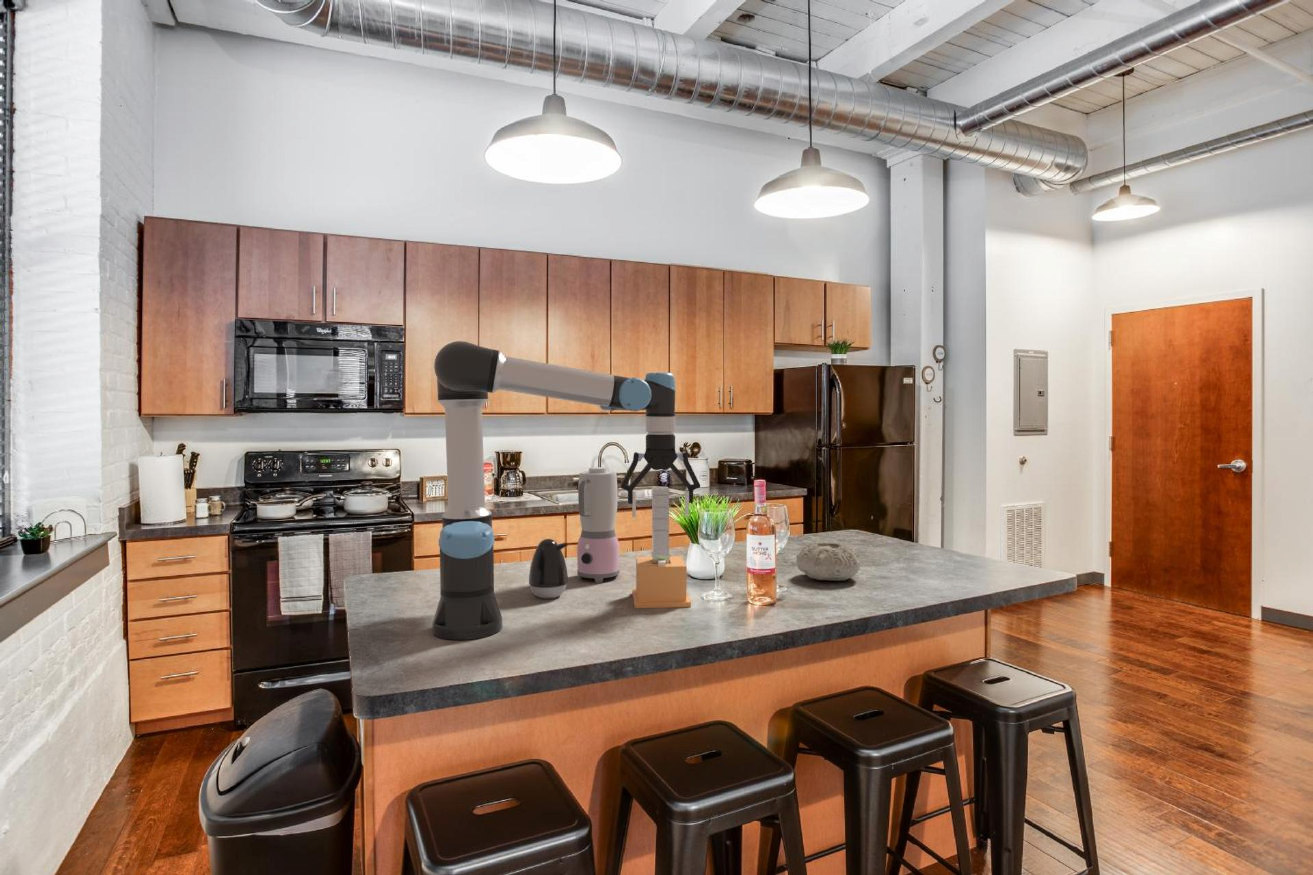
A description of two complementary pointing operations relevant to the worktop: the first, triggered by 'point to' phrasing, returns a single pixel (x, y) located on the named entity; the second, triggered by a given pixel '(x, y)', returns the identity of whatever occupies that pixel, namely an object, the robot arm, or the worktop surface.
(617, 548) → the blender
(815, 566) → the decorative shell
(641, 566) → the housing
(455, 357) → the robot arm
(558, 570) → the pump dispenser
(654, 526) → the column
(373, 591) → the worktop surface
